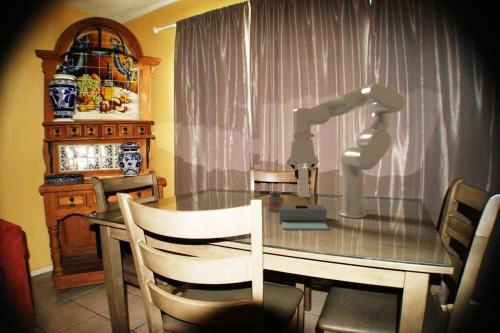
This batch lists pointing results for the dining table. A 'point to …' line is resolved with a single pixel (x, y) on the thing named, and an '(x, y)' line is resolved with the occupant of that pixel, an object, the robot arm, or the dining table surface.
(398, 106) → the robot arm
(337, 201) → the dining table surface
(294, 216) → the rail
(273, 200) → the lighter
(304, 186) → the peg
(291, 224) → the mat
